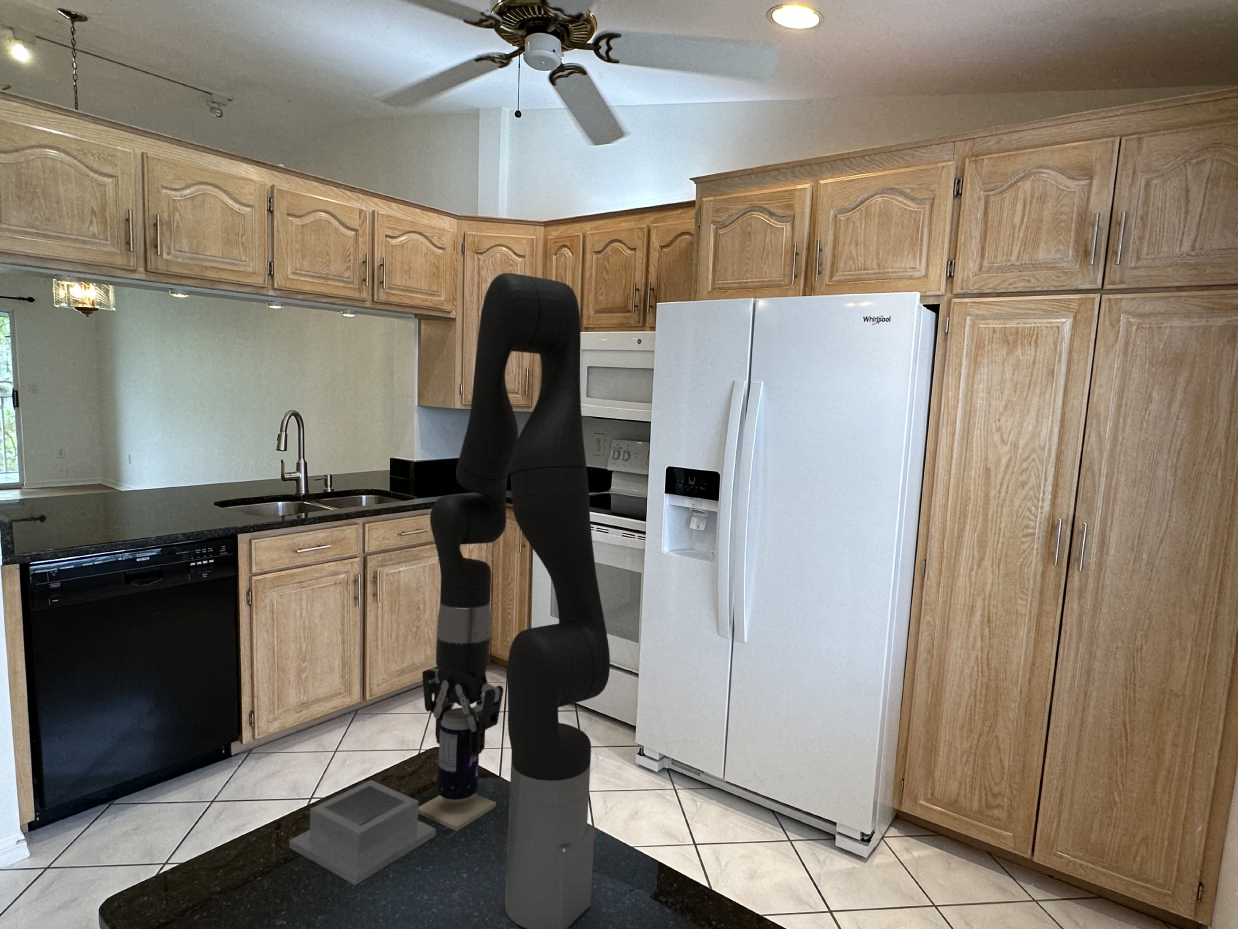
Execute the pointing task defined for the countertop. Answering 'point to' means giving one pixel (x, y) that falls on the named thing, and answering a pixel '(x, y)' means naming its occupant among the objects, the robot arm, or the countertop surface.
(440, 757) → the beverage can
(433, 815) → the birch pad
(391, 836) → the sleeve
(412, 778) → the countertop surface
